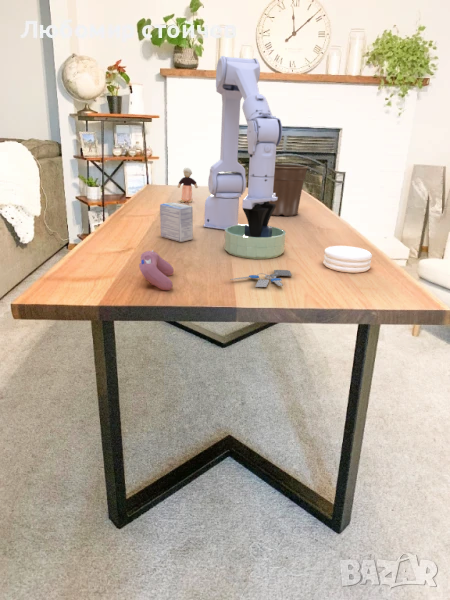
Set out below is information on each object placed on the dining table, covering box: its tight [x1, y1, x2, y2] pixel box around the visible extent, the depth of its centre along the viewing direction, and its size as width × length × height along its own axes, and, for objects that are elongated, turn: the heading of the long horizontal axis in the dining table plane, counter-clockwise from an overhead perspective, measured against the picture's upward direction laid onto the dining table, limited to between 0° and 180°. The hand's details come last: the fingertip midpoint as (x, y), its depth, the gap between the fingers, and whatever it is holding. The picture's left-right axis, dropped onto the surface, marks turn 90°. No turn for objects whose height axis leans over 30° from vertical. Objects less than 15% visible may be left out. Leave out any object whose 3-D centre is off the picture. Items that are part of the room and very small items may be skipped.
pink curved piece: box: [138, 249, 175, 291], centre depth 81 cm, size 10×5×7 cm, turn 5°
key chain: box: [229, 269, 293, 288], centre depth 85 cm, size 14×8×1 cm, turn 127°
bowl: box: [223, 223, 287, 260], centre depth 105 cm, size 14×14×5 cm
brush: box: [243, 223, 273, 237], centre depth 104 cm, size 7×4×6 cm, turn 63°
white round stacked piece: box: [322, 245, 373, 274], centre depth 96 cm, size 10×10×4 cm
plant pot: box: [269, 163, 309, 217], centre depth 151 cm, size 16×16×16 cm
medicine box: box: [159, 202, 194, 243], centre depth 113 cm, size 8×4×9 cm, turn 47°
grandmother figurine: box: [177, 167, 199, 204], centre depth 168 cm, size 8×4×13 cm, turn 95°
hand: (257, 235), depth 104 cm, fingers closed on brush, 2 cm apart
